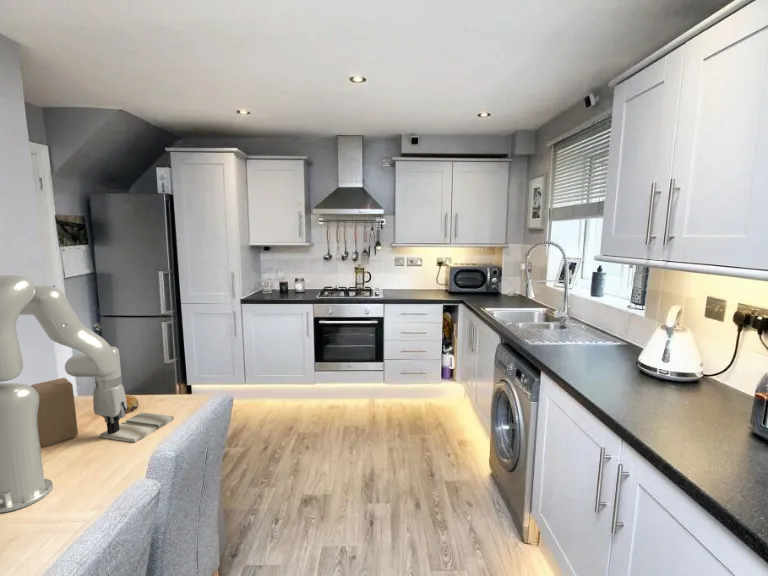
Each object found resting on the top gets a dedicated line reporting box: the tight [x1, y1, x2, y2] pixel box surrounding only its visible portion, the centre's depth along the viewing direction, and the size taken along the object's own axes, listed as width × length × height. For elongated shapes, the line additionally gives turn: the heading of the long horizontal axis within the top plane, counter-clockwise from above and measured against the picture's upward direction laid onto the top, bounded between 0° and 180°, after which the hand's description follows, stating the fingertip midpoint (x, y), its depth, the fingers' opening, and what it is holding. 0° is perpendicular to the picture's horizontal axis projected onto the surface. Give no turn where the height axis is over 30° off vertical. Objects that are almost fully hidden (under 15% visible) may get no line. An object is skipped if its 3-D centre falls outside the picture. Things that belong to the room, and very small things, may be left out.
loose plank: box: [99, 421, 157, 443], centre depth 136 cm, size 9×15×1 cm, turn 76°
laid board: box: [125, 411, 175, 431], centre depth 145 cm, size 8×15×2 cm, turn 76°
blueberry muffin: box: [125, 394, 140, 415], centre depth 156 cm, size 10×10×8 cm
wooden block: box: [30, 377, 79, 448], centre depth 132 cm, size 10×10×20 cm
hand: (113, 432), depth 135 cm, fingers closed
